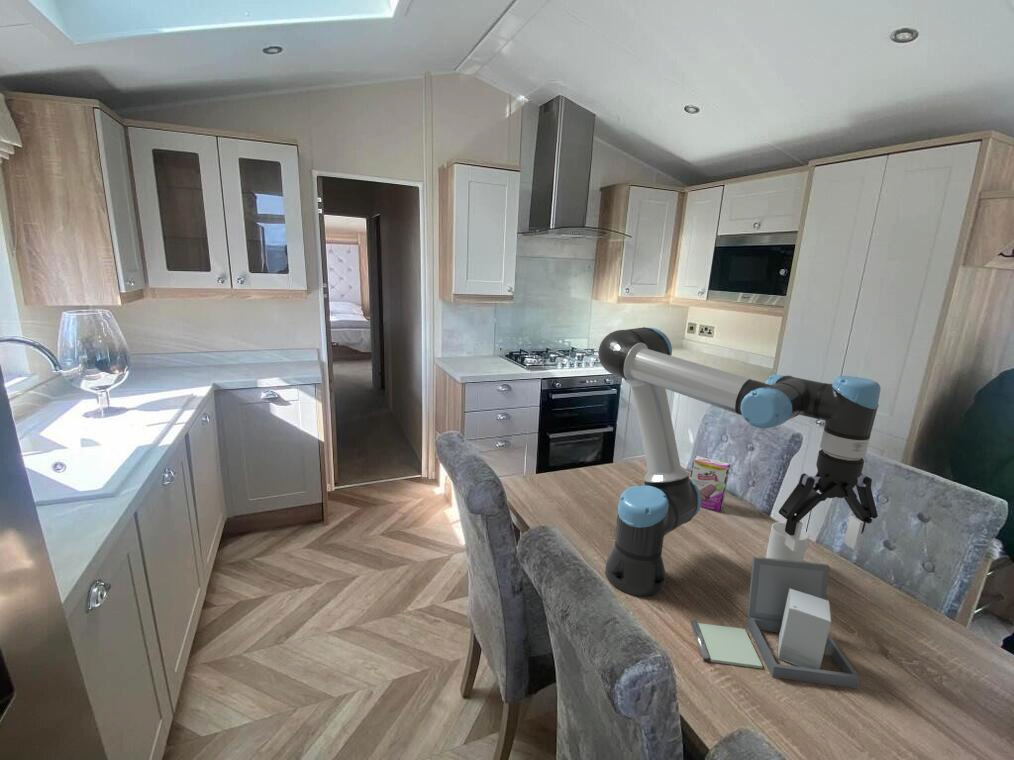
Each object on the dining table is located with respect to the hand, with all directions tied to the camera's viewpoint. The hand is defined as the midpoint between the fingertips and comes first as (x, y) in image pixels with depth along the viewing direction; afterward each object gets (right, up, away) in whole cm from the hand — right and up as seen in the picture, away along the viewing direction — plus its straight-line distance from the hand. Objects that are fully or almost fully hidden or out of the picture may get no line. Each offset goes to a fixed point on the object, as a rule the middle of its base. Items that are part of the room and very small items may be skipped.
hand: (820, 547), depth 98 cm
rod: (-25, -21, +2) cm, 33 cm away
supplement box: (-5, -23, 0) cm, 23 cm away
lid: (-4, -12, +5) cm, 13 cm away
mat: (-19, -22, +1) cm, 29 cm away
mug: (+11, -16, +30) cm, 35 cm away
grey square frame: (-5, -22, -1) cm, 23 cm away
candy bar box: (+1, -8, +60) cm, 61 cm away
